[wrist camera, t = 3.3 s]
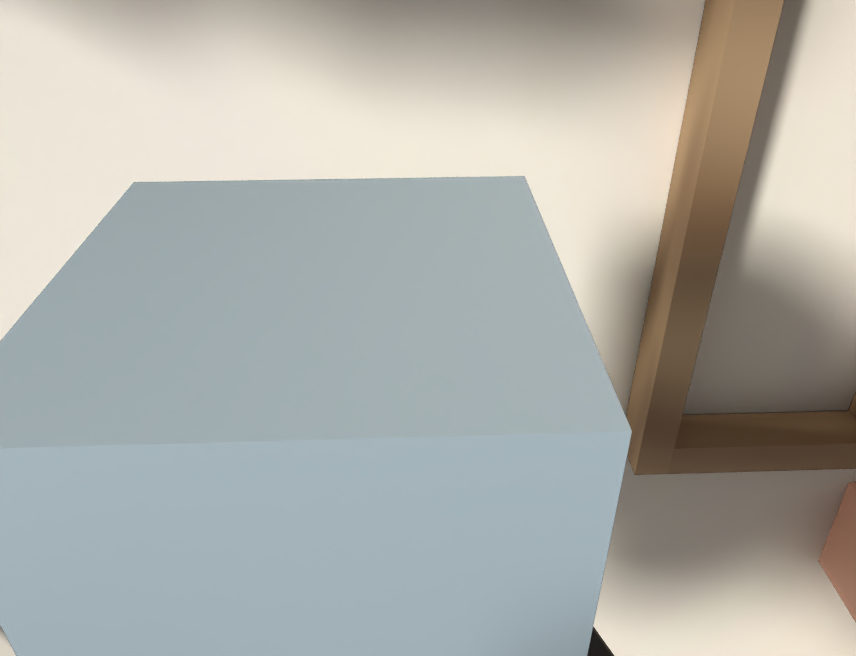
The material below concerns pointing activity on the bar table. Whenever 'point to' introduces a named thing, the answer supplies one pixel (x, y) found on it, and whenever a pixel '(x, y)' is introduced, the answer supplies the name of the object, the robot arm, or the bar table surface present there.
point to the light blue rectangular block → (308, 429)
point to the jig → (697, 269)
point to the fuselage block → (843, 550)
